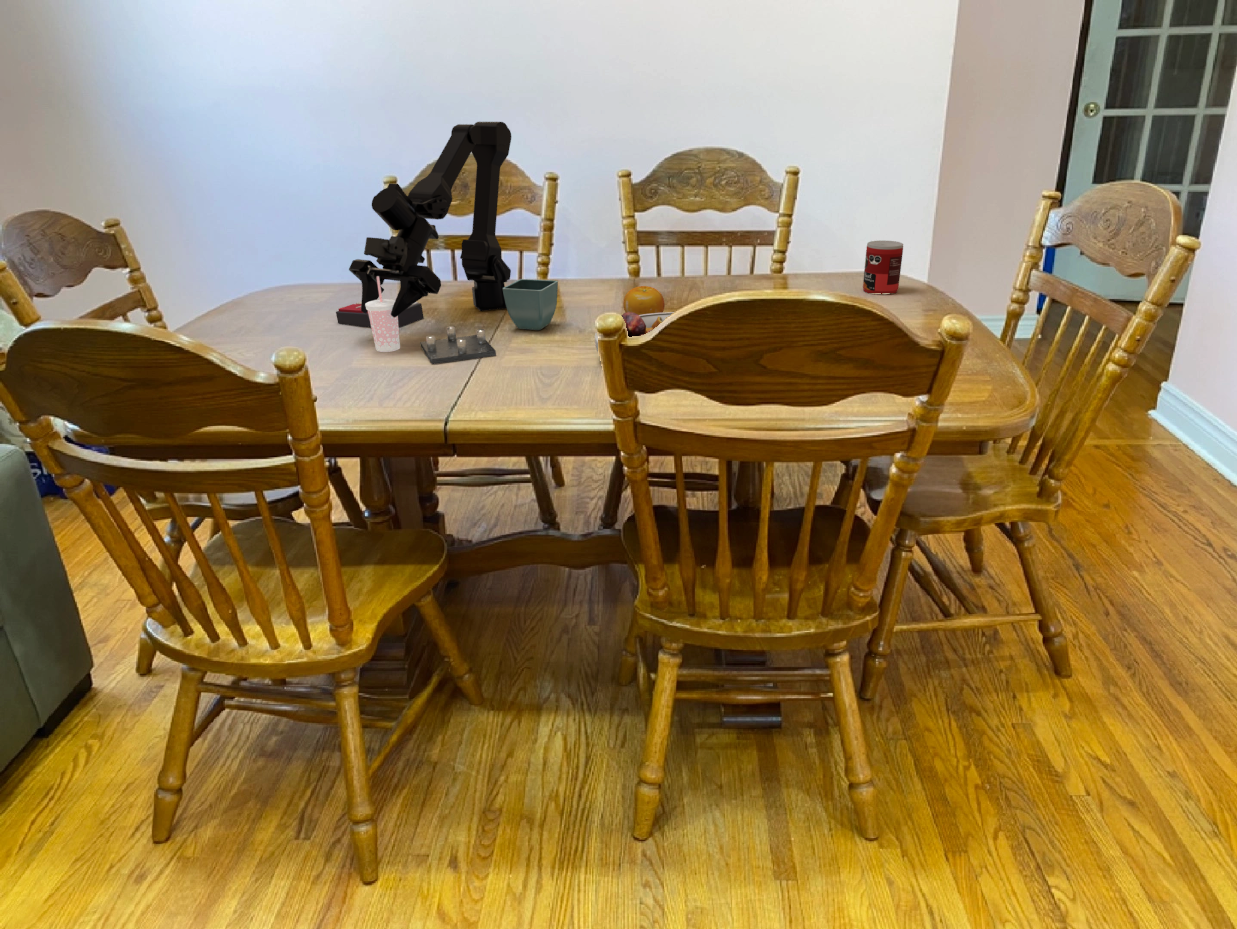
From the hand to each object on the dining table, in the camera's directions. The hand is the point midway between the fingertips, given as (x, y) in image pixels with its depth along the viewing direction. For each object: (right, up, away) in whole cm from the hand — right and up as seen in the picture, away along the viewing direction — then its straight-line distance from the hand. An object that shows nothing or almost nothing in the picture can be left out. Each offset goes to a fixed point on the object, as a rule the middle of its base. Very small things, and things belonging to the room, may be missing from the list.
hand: (377, 314), depth 160 cm
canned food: (+107, +12, +37) cm, 113 cm away
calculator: (-6, +2, +23) cm, 24 cm away
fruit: (+51, +2, +19) cm, 55 cm away
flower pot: (+28, 0, +16) cm, 32 cm away
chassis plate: (+15, -7, +1) cm, 16 cm away
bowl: (+57, -9, -5) cm, 58 cm away
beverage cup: (+1, -6, +4) cm, 7 cm away
